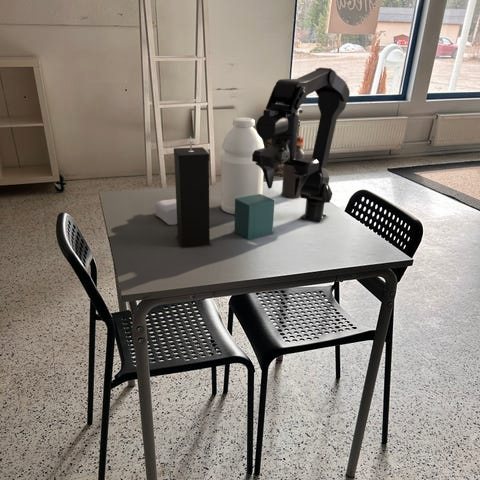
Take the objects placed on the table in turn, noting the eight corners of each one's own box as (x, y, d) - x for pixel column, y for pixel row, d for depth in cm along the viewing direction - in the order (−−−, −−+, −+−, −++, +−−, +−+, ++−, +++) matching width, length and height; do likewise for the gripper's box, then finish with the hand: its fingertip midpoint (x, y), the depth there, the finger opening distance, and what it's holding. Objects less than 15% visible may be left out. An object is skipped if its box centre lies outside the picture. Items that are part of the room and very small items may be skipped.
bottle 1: (212, 206, 166) (212, 117, 151) (244, 199, 173) (247, 113, 159) (237, 218, 157) (239, 125, 142) (270, 210, 164) (276, 120, 149)
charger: (174, 206, 165) (194, 220, 154) (148, 210, 161) (167, 225, 150) (173, 192, 162) (194, 205, 152) (147, 196, 158) (166, 210, 147)
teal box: (258, 225, 152) (260, 193, 147) (272, 233, 147) (274, 200, 142) (234, 231, 147) (234, 198, 142) (247, 239, 143) (249, 205, 137)
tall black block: (182, 247, 136) (177, 141, 121) (177, 236, 143) (172, 135, 128) (209, 245, 138) (209, 140, 123) (204, 234, 144) (202, 134, 130)
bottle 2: (288, 199, 175) (293, 140, 164) (278, 194, 180) (282, 136, 169) (304, 197, 178) (310, 138, 167) (293, 191, 183) (298, 134, 172)
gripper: (239, 132, 130) (238, 191, 138) (297, 144, 119) (292, 207, 128) (266, 126, 137) (263, 182, 145) (323, 137, 126) (316, 197, 135)
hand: (282, 191), depth 138 cm, fingers open, 9 cm apart
